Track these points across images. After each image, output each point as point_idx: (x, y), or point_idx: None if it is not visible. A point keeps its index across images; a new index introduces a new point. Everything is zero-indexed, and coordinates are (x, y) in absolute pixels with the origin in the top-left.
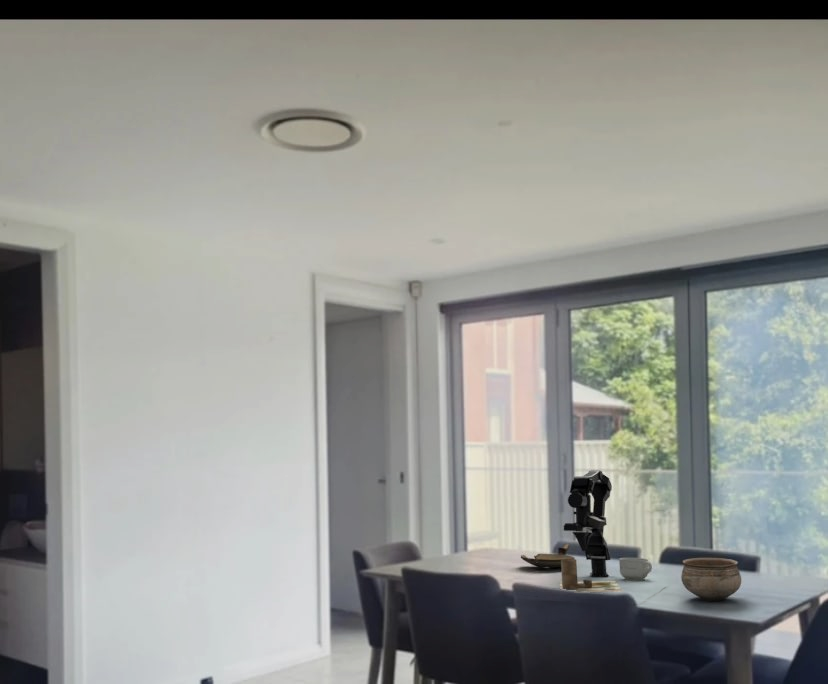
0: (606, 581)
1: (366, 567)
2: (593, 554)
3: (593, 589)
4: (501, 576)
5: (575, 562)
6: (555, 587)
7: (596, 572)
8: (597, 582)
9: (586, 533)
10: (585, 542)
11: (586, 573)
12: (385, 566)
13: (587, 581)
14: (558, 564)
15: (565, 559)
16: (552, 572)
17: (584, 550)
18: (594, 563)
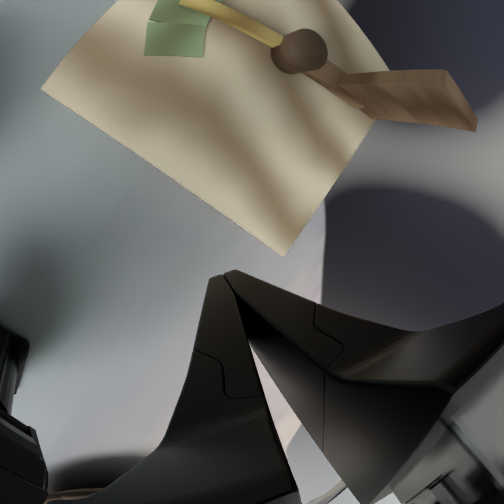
0: (83, 111)
1: (344, 488)
2: (1, 419)
3: (299, 13)
4: (288, 436)
5: (434, 73)
6: (320, 213)
7: (7, 340)
8: (249, 26)
9: (500, 311)
10: (286, 314)
11: (25, 407)
12: (327, 496)
13: (320, 38)
14: (101, 488)
15: (83, 495)
16: (133, 458)
17: (238, 273)
18: (2, 386)
